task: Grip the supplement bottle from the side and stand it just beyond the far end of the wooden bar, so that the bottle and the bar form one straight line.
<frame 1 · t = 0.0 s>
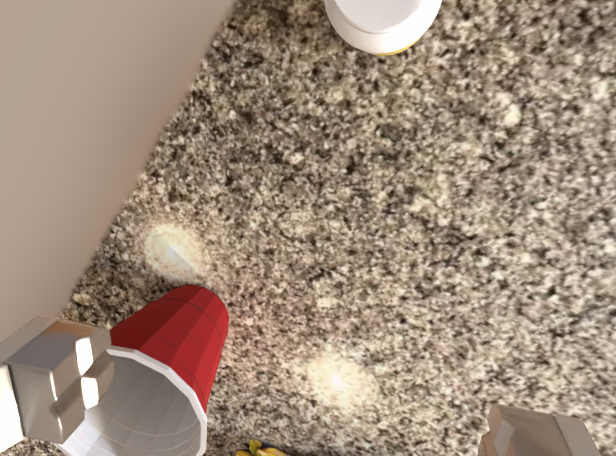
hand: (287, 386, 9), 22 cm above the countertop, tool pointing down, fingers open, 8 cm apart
supplement bottle: (386, 6, 26), on the countertop
plastic cup: (200, 314, 37), on the countertop
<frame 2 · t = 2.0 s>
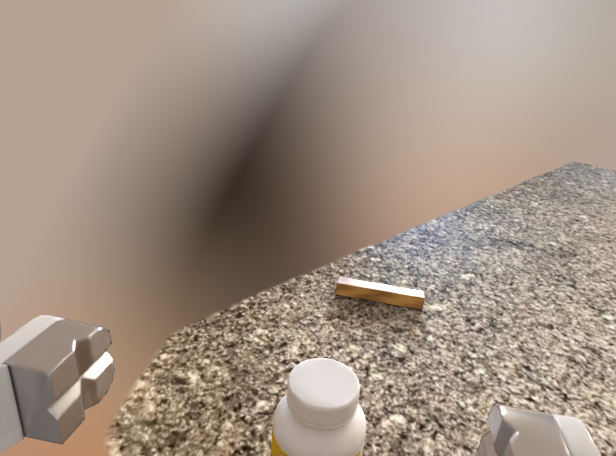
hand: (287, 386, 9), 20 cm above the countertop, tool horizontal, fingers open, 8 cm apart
wooden bar: (378, 298, 51), on the countertop
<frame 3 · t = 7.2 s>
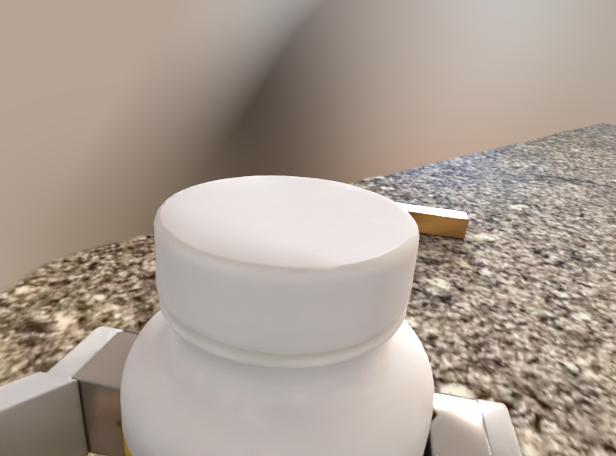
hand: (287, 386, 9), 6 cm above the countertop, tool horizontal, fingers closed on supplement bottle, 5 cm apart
wooden bar: (396, 225, 34), on the countertop
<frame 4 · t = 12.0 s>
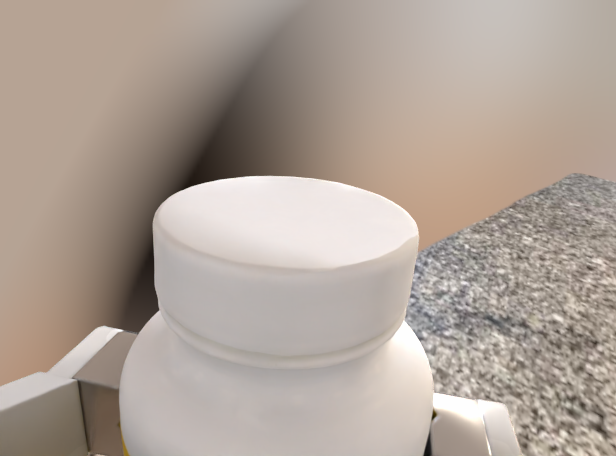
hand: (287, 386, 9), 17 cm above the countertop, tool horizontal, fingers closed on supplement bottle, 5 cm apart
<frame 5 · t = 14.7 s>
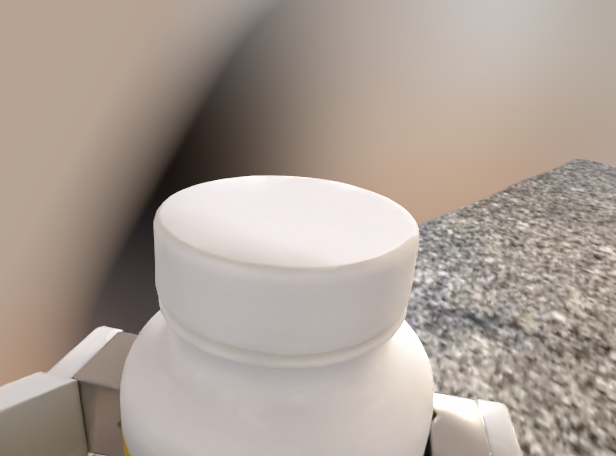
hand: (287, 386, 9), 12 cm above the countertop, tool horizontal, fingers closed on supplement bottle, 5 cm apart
when the fingers open (5 cm above the countertop, at t = 16.9 s): supplement bottle stays where it is, on the countertop.
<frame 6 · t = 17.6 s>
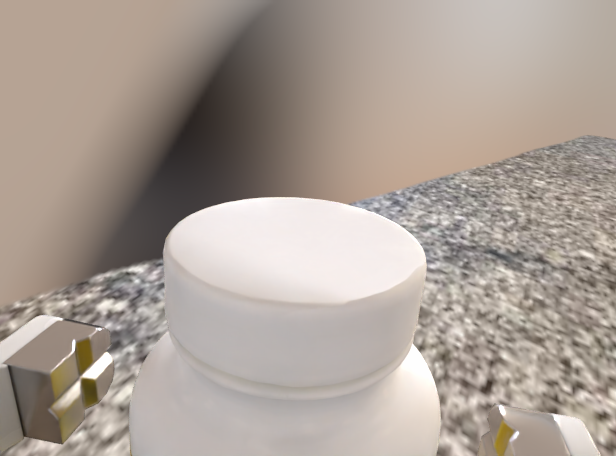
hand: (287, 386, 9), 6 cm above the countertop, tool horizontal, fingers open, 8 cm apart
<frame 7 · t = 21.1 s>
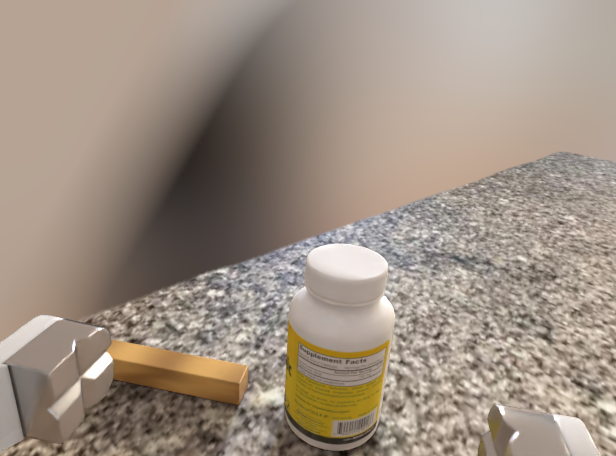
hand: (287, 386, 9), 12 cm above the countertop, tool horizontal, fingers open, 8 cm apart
supplement bottle: (329, 417, 25), on the countertop
wooden bar: (164, 379, 26), on the countertop
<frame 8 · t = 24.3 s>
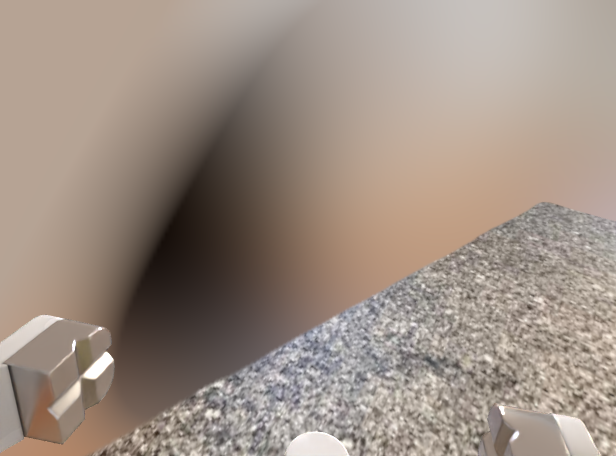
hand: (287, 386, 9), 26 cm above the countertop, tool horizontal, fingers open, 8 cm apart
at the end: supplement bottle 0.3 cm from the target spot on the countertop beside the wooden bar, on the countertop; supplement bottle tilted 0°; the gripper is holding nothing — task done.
